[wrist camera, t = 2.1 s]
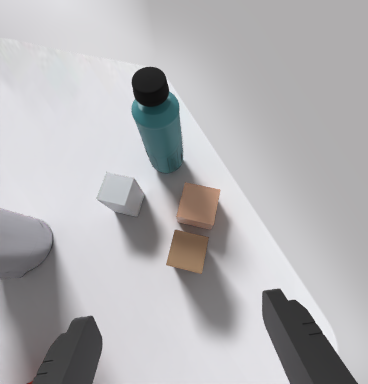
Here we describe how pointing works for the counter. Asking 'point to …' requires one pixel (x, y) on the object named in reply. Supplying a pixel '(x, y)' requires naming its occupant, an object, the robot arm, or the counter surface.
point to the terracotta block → (198, 206)
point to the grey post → (121, 194)
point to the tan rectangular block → (187, 251)
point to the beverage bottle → (157, 119)
